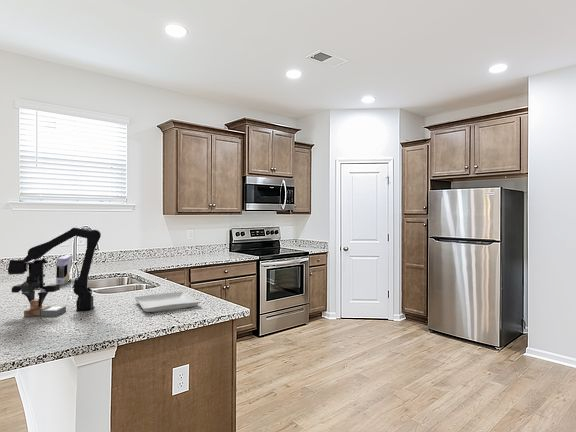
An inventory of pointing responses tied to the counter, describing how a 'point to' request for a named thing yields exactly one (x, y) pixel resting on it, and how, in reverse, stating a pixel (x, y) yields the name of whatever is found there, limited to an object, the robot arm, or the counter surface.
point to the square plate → (166, 301)
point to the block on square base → (34, 308)
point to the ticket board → (53, 311)
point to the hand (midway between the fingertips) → (36, 306)
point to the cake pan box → (63, 269)
